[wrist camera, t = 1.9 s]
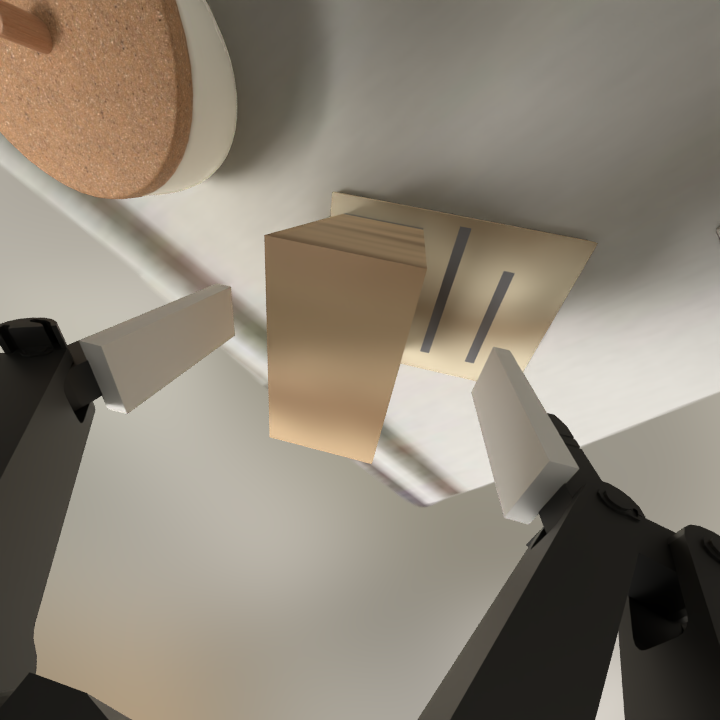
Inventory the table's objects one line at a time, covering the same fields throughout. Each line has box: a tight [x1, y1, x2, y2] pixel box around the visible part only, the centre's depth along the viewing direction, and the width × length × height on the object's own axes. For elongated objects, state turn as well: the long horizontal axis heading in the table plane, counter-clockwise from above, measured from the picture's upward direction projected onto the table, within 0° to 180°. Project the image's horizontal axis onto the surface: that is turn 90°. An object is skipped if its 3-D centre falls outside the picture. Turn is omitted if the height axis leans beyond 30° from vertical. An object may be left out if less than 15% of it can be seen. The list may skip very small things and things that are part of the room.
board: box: [330, 192, 598, 381], centre depth 20 cm, size 11×16×1 cm
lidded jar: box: [0, 0, 237, 199], centre depth 13 cm, size 11×11×9 cm
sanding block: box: [264, 213, 427, 464], centre depth 15 cm, size 9×5×11 cm, turn 171°
